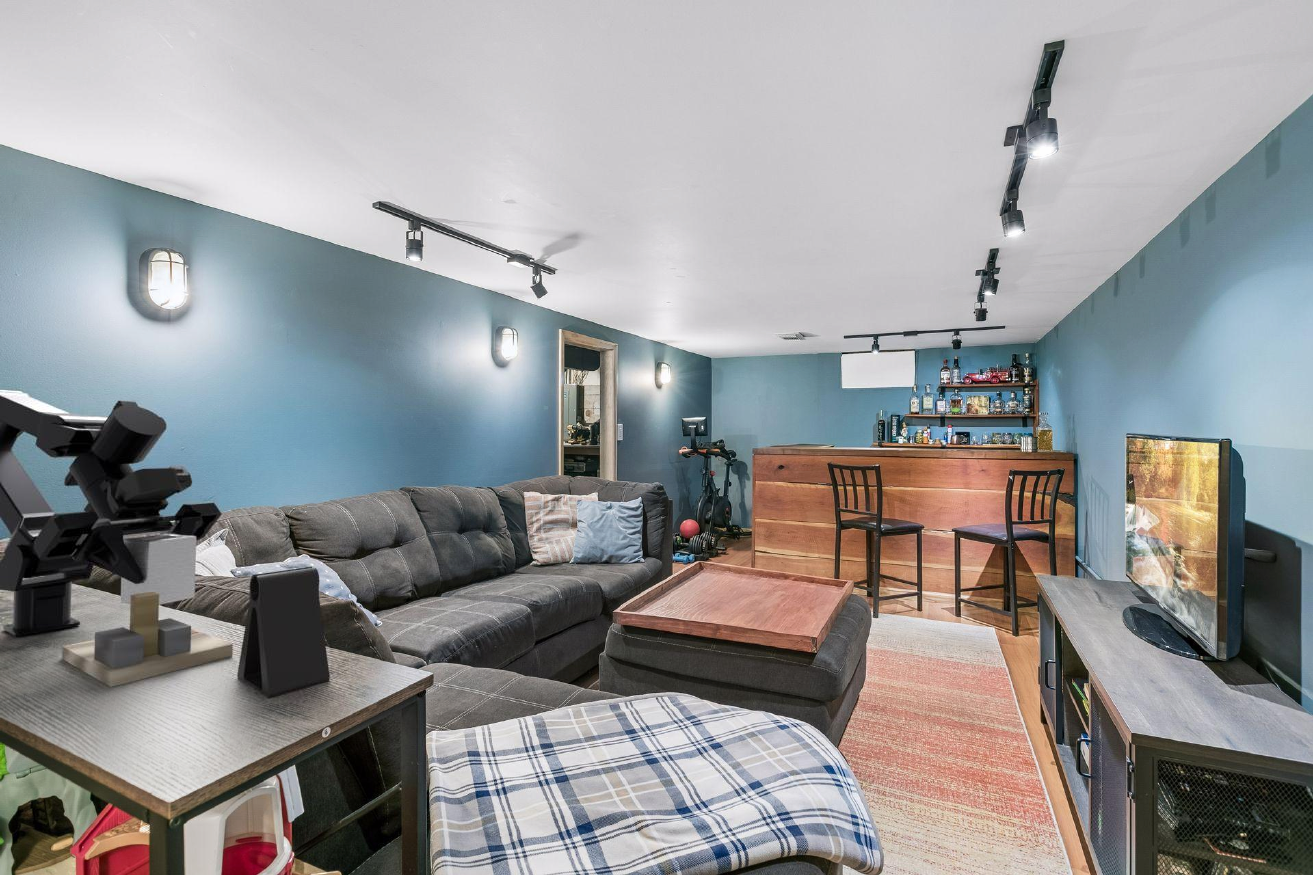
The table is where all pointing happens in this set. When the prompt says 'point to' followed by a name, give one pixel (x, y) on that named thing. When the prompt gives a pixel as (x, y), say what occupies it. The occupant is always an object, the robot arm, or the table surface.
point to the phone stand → (284, 633)
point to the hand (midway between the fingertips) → (166, 576)
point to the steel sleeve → (162, 567)
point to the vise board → (151, 664)
